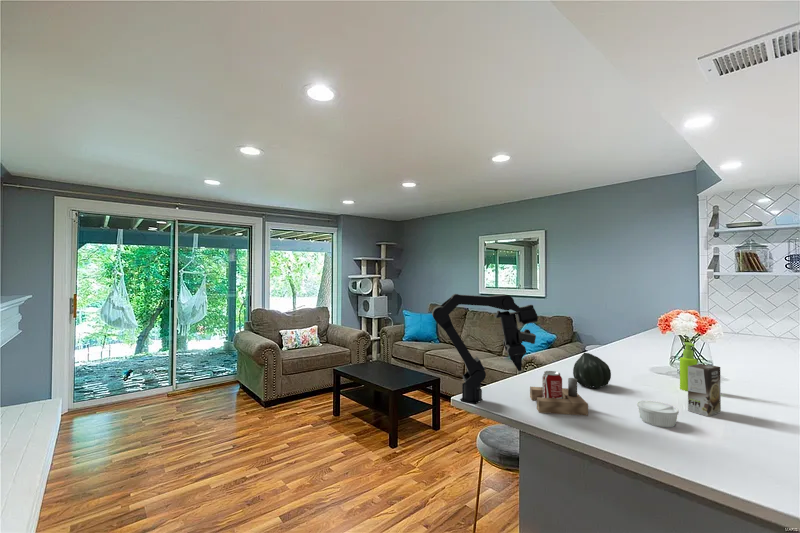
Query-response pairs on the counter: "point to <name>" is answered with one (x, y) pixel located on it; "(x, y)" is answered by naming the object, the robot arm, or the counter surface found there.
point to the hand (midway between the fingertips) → (518, 367)
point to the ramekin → (657, 413)
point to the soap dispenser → (686, 365)
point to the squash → (591, 371)
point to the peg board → (561, 401)
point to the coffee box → (704, 389)
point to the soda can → (552, 385)
